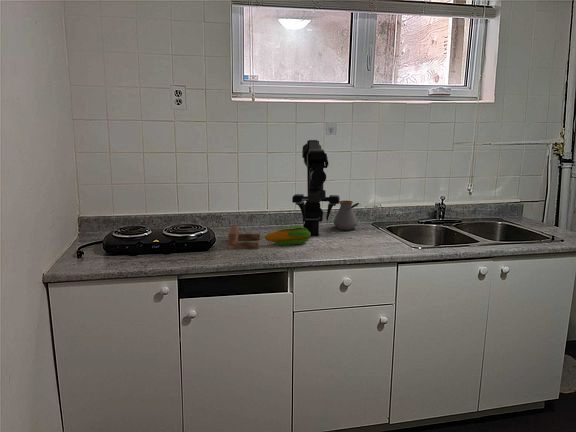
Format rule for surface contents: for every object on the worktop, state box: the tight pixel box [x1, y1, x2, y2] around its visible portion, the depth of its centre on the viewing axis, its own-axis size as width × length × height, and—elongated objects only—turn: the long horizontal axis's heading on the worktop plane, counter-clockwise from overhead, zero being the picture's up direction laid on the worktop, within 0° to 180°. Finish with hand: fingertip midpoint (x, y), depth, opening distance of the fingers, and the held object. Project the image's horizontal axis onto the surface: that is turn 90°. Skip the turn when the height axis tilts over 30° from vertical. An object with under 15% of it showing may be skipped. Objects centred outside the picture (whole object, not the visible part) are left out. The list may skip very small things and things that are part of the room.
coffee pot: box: [333, 200, 361, 231], centre depth 225 cm, size 21×12×15 cm, turn 13°
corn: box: [263, 225, 311, 246], centre depth 202 cm, size 7×8×20 cm
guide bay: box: [227, 225, 261, 250], centre depth 202 cm, size 12×15×6 cm
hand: (315, 219), depth 198 cm, fingers open, 9 cm apart
